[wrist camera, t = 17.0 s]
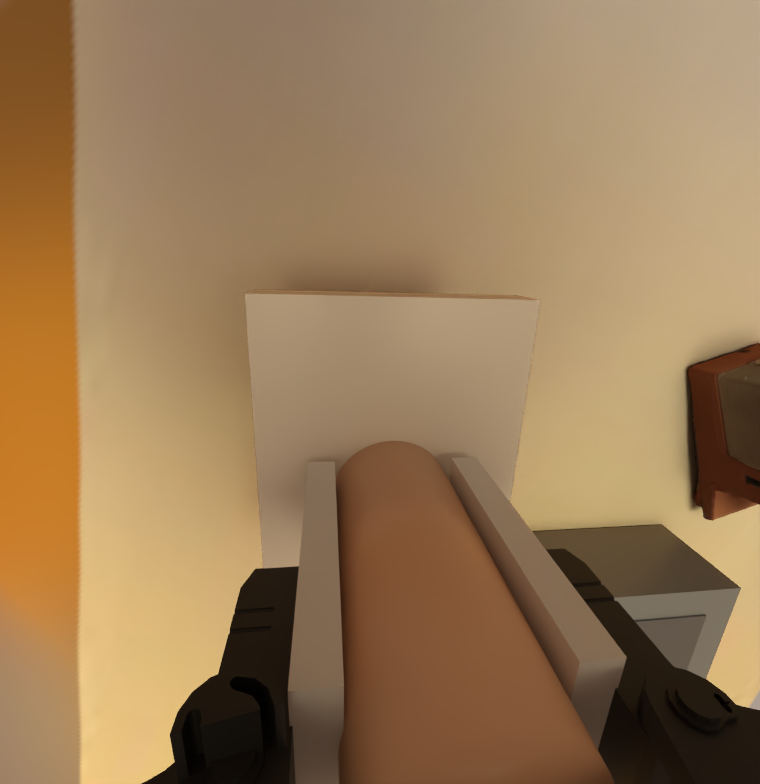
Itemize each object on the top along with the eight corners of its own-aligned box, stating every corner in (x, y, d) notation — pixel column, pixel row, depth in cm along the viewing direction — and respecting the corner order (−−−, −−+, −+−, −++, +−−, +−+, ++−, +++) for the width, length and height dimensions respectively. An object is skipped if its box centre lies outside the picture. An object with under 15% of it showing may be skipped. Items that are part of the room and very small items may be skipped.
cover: (254, 289, 12) (24, 384, 3) (517, 295, 13) (961, 381, 4) (274, 614, 15) (201, 1104, 6) (476, 599, 16) (655, 1005, 8)
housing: (310, 543, 22) (305, 625, 17) (662, 524, 25) (744, 591, 20) (315, 744, 27) (312, 851, 22) (607, 710, 30) (662, 800, 25)
